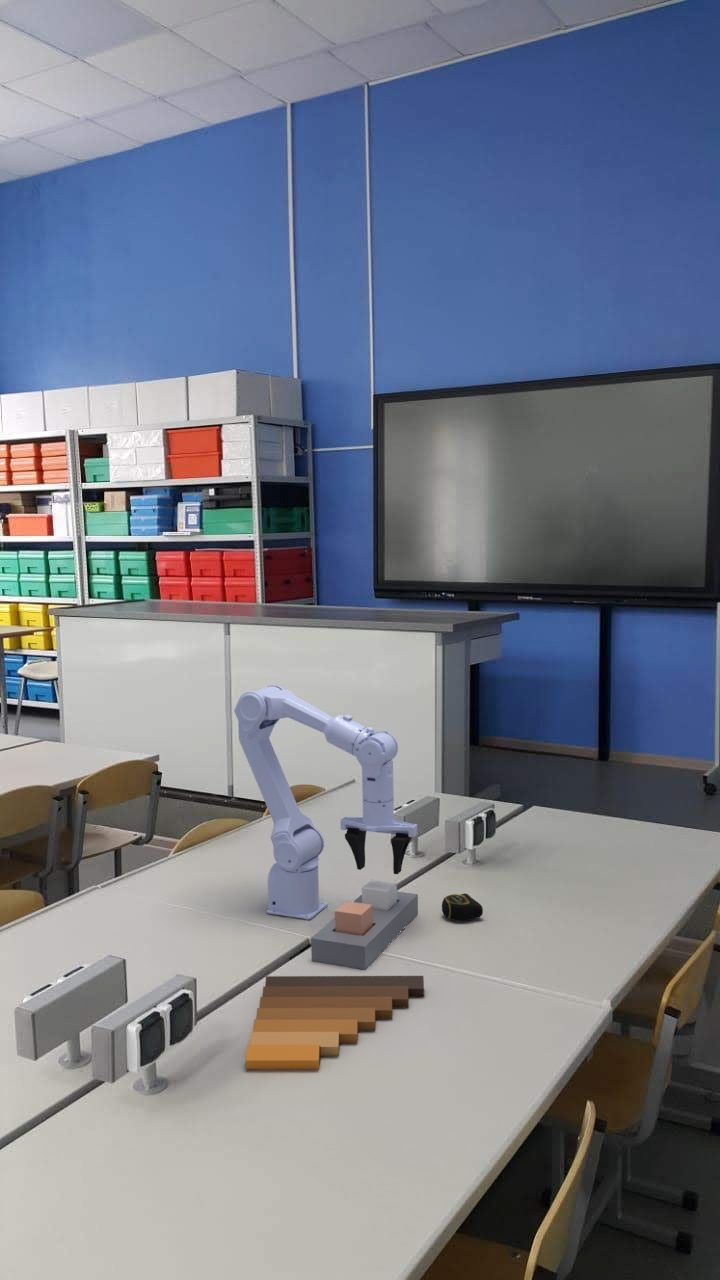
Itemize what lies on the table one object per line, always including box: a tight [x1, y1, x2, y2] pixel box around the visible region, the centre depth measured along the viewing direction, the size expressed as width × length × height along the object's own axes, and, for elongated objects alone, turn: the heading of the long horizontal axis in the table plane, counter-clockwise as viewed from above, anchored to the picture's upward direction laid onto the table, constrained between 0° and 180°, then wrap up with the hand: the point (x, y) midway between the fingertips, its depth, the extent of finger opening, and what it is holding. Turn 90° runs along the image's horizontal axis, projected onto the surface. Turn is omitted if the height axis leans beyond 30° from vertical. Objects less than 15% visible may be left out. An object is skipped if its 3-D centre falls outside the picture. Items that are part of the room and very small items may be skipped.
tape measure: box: [441, 893, 484, 922], centre depth 190 cm, size 7×7×4 cm
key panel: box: [310, 891, 419, 970], centre depth 182 cm, size 10×26×4 cm, turn 157°
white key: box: [361, 879, 398, 911], centre depth 187 cm, size 5×5×4 cm
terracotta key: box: [334, 900, 373, 936], centre depth 176 cm, size 5×5×4 cm
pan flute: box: [245, 975, 425, 1070], centre depth 149 cm, size 25×3×25 cm
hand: (379, 870), depth 186 cm, fingers open, 7 cm apart
